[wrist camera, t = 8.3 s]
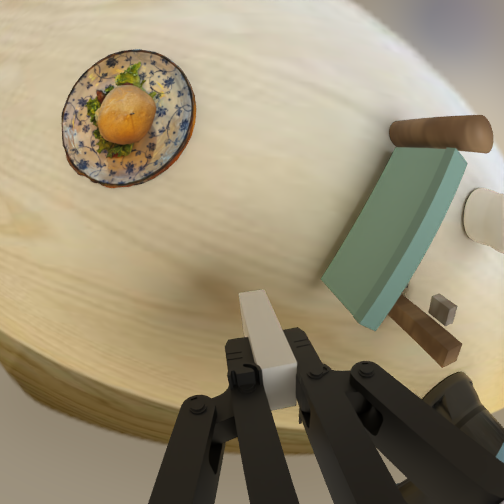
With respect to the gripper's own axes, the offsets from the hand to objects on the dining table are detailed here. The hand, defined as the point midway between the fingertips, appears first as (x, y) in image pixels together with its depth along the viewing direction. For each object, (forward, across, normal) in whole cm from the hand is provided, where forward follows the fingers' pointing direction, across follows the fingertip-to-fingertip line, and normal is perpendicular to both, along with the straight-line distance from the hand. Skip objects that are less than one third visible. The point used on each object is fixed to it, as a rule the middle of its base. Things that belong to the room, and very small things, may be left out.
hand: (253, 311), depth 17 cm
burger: (+10, -8, +13) cm, 18 cm away
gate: (+8, +12, +3) cm, 14 cm away
